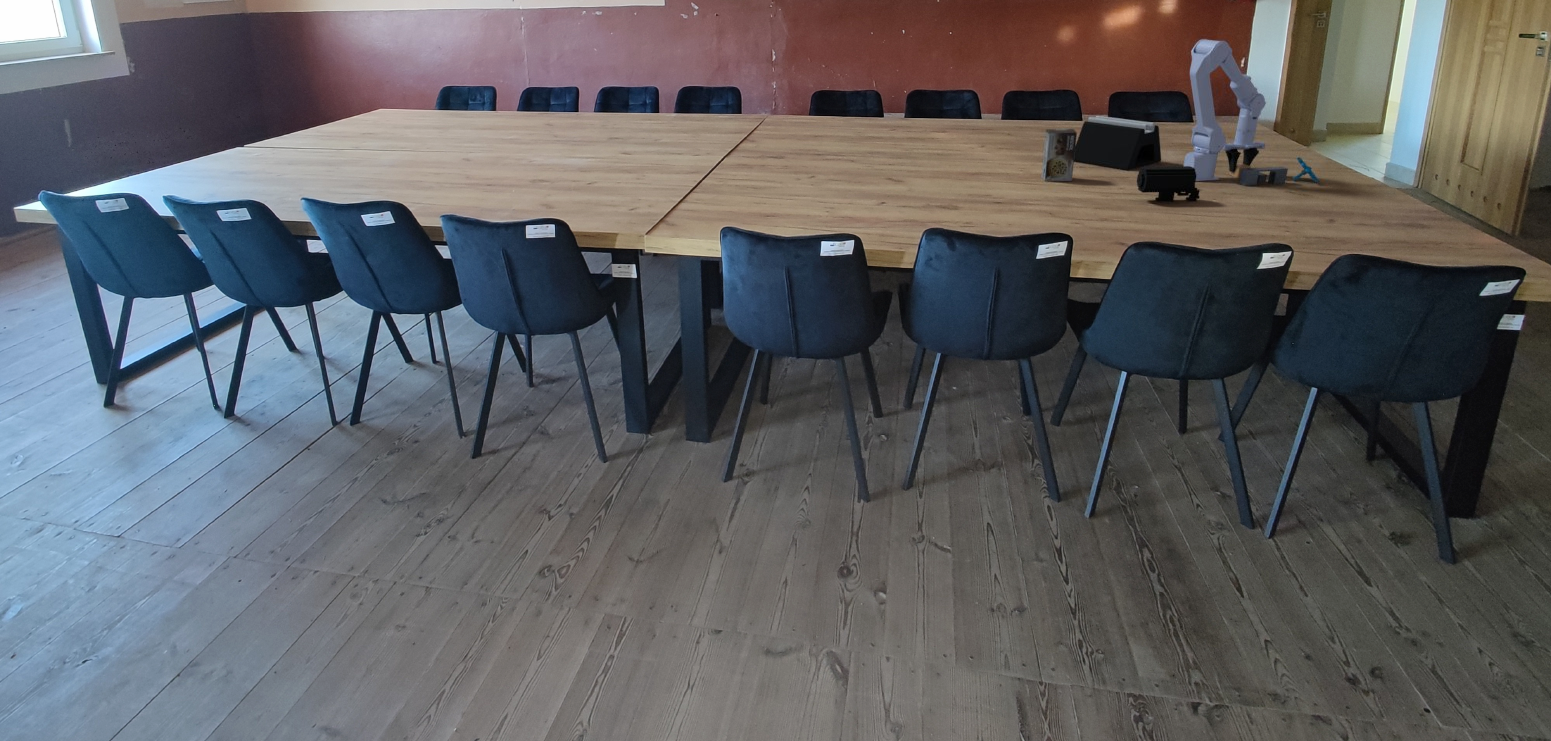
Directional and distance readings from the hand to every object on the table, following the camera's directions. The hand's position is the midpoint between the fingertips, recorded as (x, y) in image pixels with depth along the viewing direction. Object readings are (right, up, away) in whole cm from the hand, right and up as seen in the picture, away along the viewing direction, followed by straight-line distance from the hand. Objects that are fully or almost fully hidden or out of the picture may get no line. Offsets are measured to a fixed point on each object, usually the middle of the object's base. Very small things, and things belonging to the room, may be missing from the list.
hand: (1238, 171), depth 306 cm
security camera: (-37, -16, -29) cm, 49 cm away
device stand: (-32, +8, +24) cm, 41 cm away
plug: (+1, -4, -5) cm, 6 cm away
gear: (+18, -5, -8) cm, 20 cm away
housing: (+2, -7, -11) cm, 13 cm away
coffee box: (-61, -3, 0) cm, 61 cm away
